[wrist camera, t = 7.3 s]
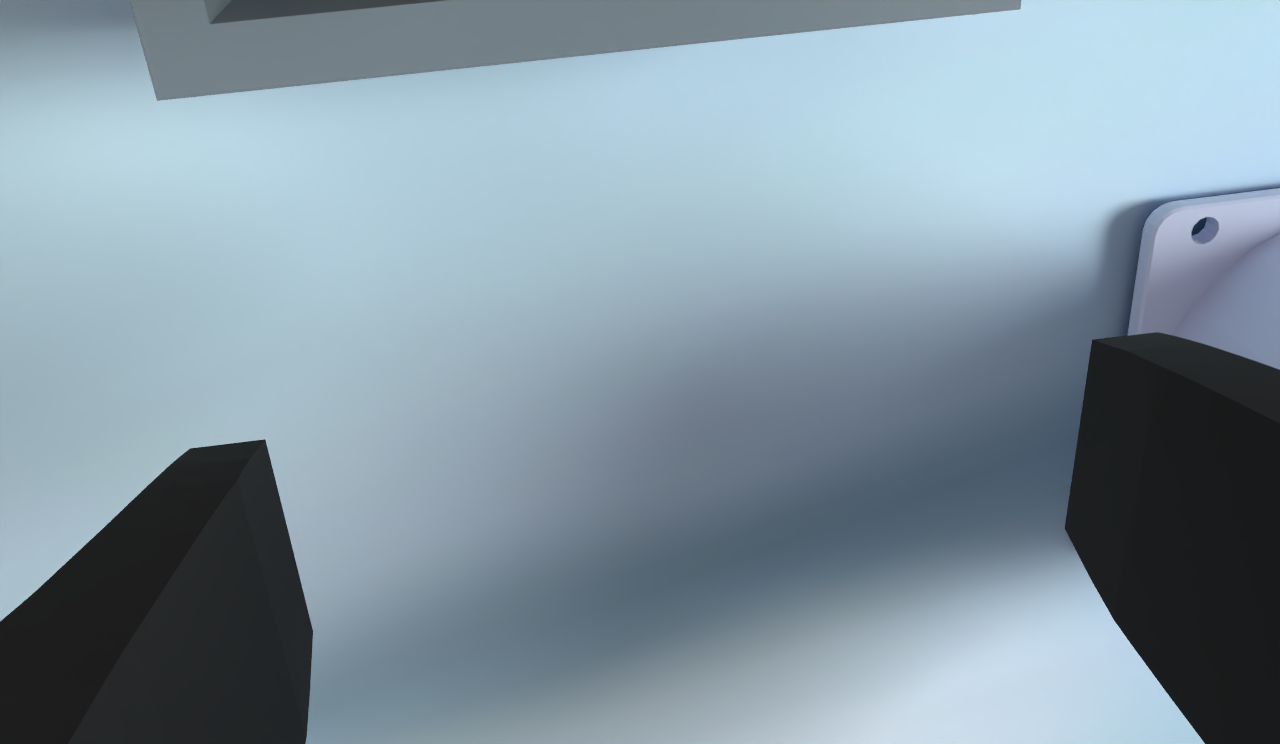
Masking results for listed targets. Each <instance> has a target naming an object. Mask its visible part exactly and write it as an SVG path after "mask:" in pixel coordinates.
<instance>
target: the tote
mask: <svg viewBox="0 0 1280 744" xmlns="http://www.w3.org/2000/svg"><path fill="white" fill-rule="evenodd" d="M130 3H131V7H132V11H133V14H134V18H135V22H136V25H137V29H138V33H139V36H140V40H141V44H142V47H143V51H144V55H145V58H146V62H147V65H148V69H149V73H150V76H151V80H152V84H153V87H154V91H155V95H156V98H157V101H158V100H167V99H177V98H186V97H196V96H205V95H215V94H224V93H234V92H243V91H252V90H262V89H271V88H281V87H290V86H300V85H309V84H319V83H328V82H337V81H347V80H356V79H366V78H375V77H385V76H394V75H403V74H413V73H422V72H432V71H441V70H451V69H460V68H470V67H479V66H488V65H498V64H507V63H517V62H526V61H536V60H545V59H555V58H564V57H573V56H583V55H592V54H602V53H611V52H621V51H630V50H640V49H649V48H658V47H668V46H677V45H687V44H696V43H706V42H715V41H724V40H734V39H743V38H753V37H762V36H772V35H781V34H791V33H800V32H809V31H819V30H828V29H838V28H847V27H857V26H866V25H876V24H885V23H894V22H904V21H913V20H923V19H932V18H942V17H951V16H961V15H970V14H979V13H989V12H998V11H1008V10H1017V9H1020V7H1021V0H130Z"/></svg>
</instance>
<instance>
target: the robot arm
mask: <svg viewBox="0 0 1280 744" xmlns="http://www.w3.org/2000/svg"><path fill="white" fill-rule="evenodd" d="M1205 217H1206V220H1207V221H1206V224H1205V226H1204V228H1203V229H1202V230H1201V231H1200V232H1199V233H1198V234H1196V235H1193V236H1191V231H1192V229H1193V227H1194V225H1195V224H1196V223H1197V222H1198V221H1199V220H1200V219H1203V218H1205ZM1065 530H1066V531H1067V533H1068V535H1069V537H1070V539H1071V541H1072V543H1073V545H1074V547H1075V549H1076V551H1077V553H1078V555H1079V557H1080V559H1081V561H1082V563H1083V565H1084V567H1085V569H1086V570H1087V572H1088V574H1089V576H1090V578H1091V580H1092V582H1093V584H1094V585H1095V587H1096V589H1097V591H1098V592H1099V594H1100V596H1101V598H1102V600H1103V601H1104V603H1105V605H1106V607H1107V608H1108V610H1109V612H1110V614H1111V615H1112V617H1113V619H1114V621H1115V622H1116V623H1117V625H1118V626H1119V628H1120V629H1121V630H1122V632H1123V633H1124V635H1125V636H1126V637H1127V639H1128V640H1129V642H1130V643H1131V644H1132V646H1133V647H1134V649H1135V650H1136V651H1137V653H1138V654H1139V655H1140V657H1141V658H1142V659H1143V661H1144V662H1145V663H1146V665H1147V666H1148V668H1149V669H1150V670H1151V672H1152V673H1153V674H1154V676H1155V677H1156V678H1157V680H1158V681H1159V683H1160V684H1161V685H1162V687H1163V688H1164V689H1165V691H1166V692H1167V693H1168V695H1169V696H1170V697H1171V699H1172V700H1173V701H1174V703H1175V704H1176V705H1177V707H1178V708H1179V709H1180V711H1181V712H1182V713H1183V715H1184V716H1185V717H1186V719H1187V720H1188V721H1189V723H1190V724H1191V725H1192V727H1193V728H1194V729H1195V731H1196V732H1197V733H1198V735H1199V736H1200V737H1201V739H1202V740H1203V741H1204V743H1205V744H1280V188H1276V189H1268V190H1260V191H1252V192H1244V193H1236V194H1227V195H1219V196H1211V197H1203V198H1195V199H1187V200H1179V201H1172V202H1169V203H1165V204H1162V205H1161V206H1159V207H1158V208H1157V209H1155V210H1154V211H1153V212H1152V213H1151V214H1150V216H1149V217H1148V218H1147V220H1146V222H1145V225H1144V228H1143V232H1142V239H1141V246H1140V253H1139V259H1138V266H1137V273H1136V280H1135V287H1134V294H1133V301H1132V308H1131V314H1130V321H1129V328H1128V335H1127V336H1121V337H1112V338H1104V339H1096V340H1092V345H1091V352H1090V359H1089V366H1088V373H1087V380H1086V387H1085V393H1084V400H1083V407H1082V414H1081V421H1080V428H1079V435H1078V441H1077V448H1076V455H1075V462H1074V469H1073V476H1072V483H1071V489H1070V496H1069V503H1068V510H1067V517H1066V524H1065ZM312 639H313V630H312V626H311V622H310V618H309V614H308V610H307V606H306V602H305V597H304V593H303V589H302V585H301V581H300V577H299V573H298V569H297V565H296V561H295V557H294V553H293V549H292V545H291V541H290V537H289V533H288V529H287V525H286V521H285V517H284V513H283V509H282V505H281V501H280V497H279V493H278V489H277V485H276V481H275V477H274V473H273V469H272V465H271V461H270V457H269V453H268V449H267V445H266V441H265V440H258V441H249V442H241V443H233V444H224V445H216V446H208V447H199V448H191V449H189V450H188V451H187V452H185V453H184V454H183V455H182V456H180V457H179V458H178V459H177V460H175V461H174V462H173V463H172V464H171V465H170V466H169V467H168V468H166V469H165V470H164V471H163V472H162V473H161V474H160V475H159V476H158V477H157V478H156V479H155V480H154V481H152V482H151V483H150V484H149V485H148V486H147V487H146V488H145V489H144V490H143V491H142V492H141V493H140V494H139V495H138V496H137V497H136V498H135V499H133V500H132V501H131V502H130V503H129V504H128V505H127V506H126V507H125V508H124V509H123V510H122V511H121V512H120V513H119V514H118V515H117V516H116V517H115V518H114V519H113V520H112V521H111V522H109V523H108V524H107V525H106V526H105V527H104V528H103V529H102V530H101V531H100V532H99V533H98V534H97V535H96V536H95V537H94V538H92V539H91V540H90V541H89V542H88V543H87V544H86V545H85V546H84V547H83V548H82V549H81V550H80V551H79V552H77V553H76V554H75V555H74V556H73V557H72V558H71V559H70V560H69V561H68V562H67V563H66V564H65V565H64V566H62V567H61V568H60V569H59V570H58V571H57V572H56V573H55V574H54V575H53V576H52V577H51V578H50V579H49V580H47V581H46V582H45V583H44V584H43V585H42V586H41V587H40V588H39V589H38V590H37V591H36V592H34V593H33V594H32V595H31V596H30V597H29V598H28V599H26V600H25V601H24V602H23V603H22V604H21V605H19V606H18V607H17V608H16V609H15V610H13V611H12V612H11V613H10V614H9V615H8V616H6V617H5V618H4V619H3V620H2V621H1V622H0V744H305V742H306V735H307V722H308V708H309V694H310V677H311V658H312Z"/></svg>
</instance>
